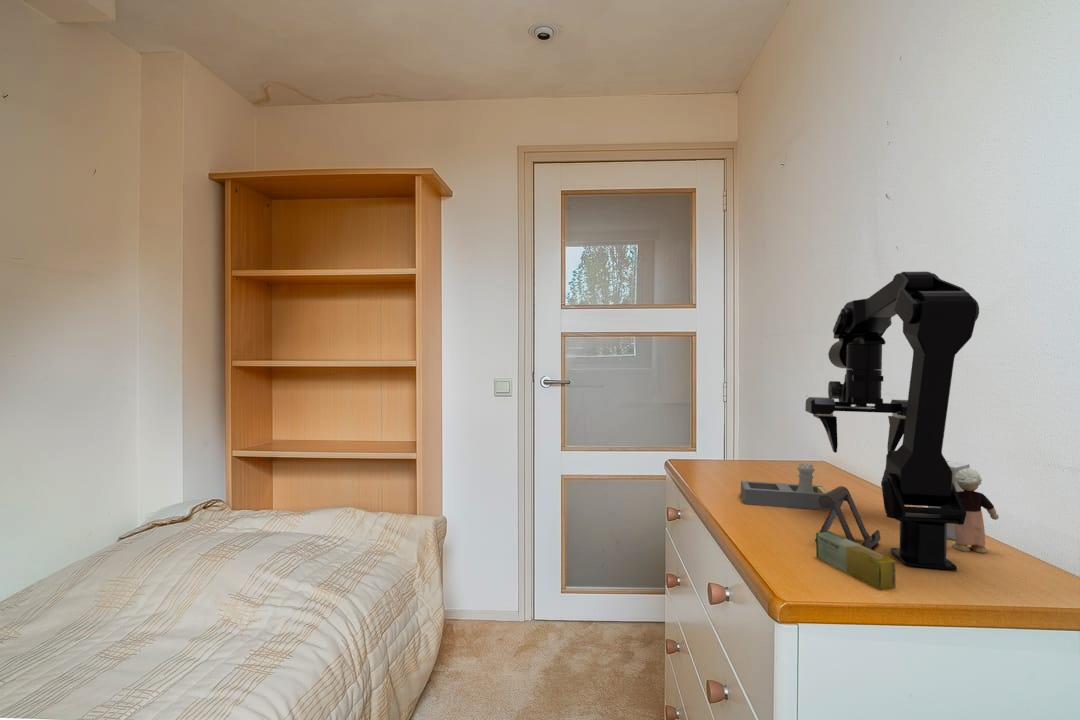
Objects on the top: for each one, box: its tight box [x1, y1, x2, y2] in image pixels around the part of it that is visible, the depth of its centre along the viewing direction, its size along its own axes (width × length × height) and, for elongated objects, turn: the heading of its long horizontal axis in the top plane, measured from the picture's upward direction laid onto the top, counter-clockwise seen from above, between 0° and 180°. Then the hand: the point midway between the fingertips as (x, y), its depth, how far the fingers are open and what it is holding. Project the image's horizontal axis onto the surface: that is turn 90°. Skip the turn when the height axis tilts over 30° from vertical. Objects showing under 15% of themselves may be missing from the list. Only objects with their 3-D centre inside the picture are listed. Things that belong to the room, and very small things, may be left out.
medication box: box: [815, 530, 897, 591], centre depth 78 cm, size 12×3×4 cm, turn 13°
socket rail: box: [740, 480, 830, 511], centre depth 115 cm, size 8×16×3 cm, turn 76°
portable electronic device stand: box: [814, 486, 881, 550], centre depth 89 cm, size 9×8×8 cm
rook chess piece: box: [796, 462, 815, 493], centre depth 114 cm, size 4×4×8 cm
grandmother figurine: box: [952, 467, 1000, 554], centre depth 88 cm, size 8×4×13 cm, turn 84°
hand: (862, 453), depth 104 cm, fingers open, 9 cm apart
